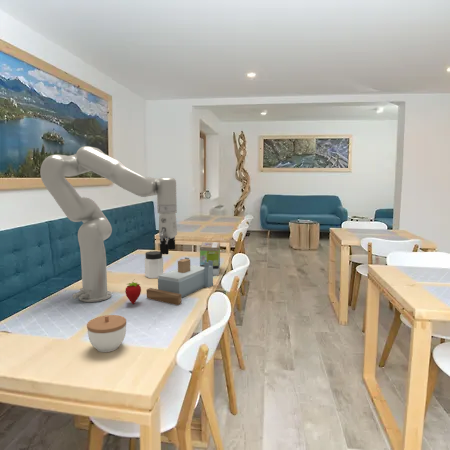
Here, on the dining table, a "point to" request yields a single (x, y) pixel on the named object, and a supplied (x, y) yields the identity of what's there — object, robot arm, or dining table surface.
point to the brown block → (164, 296)
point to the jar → (153, 264)
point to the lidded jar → (106, 332)
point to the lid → (182, 271)
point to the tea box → (210, 255)
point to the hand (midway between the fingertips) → (167, 251)
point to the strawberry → (133, 291)
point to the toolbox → (189, 282)
